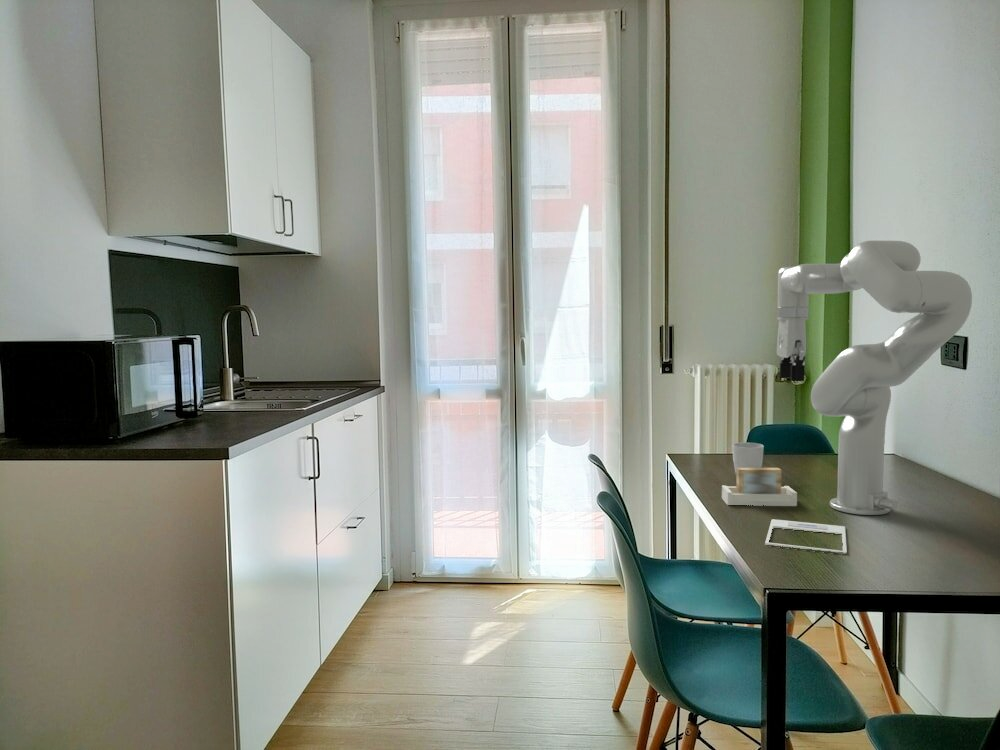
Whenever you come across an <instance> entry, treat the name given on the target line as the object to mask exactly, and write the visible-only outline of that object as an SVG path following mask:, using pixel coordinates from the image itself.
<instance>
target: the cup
mask: <svg viewBox="0 0 1000 750" xmlns="http://www.w3.org/2000/svg"><path fill="white" fill-rule="evenodd" d="M764 448H765V446H764V445H763V444H761V443H757V442H734V443H732V460H733V467H734V472H735V474H736V468H763V467H762V466H763V461H764V460H763V459H764V450H765V449H764Z"/></svg>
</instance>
